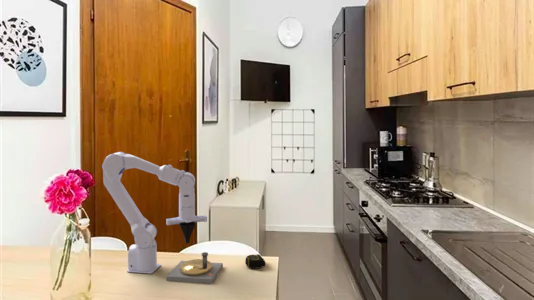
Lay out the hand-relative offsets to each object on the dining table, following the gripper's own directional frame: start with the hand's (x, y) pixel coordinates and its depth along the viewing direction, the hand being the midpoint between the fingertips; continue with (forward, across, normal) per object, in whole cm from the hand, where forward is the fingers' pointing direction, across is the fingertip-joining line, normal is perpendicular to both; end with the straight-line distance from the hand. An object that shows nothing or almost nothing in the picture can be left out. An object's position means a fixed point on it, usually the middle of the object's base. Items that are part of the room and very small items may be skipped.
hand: (187, 242), depth 133 cm
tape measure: (+10, +24, -8) cm, 27 cm away
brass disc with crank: (+8, +2, -7) cm, 11 cm away
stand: (+9, +2, -7) cm, 12 cm away
